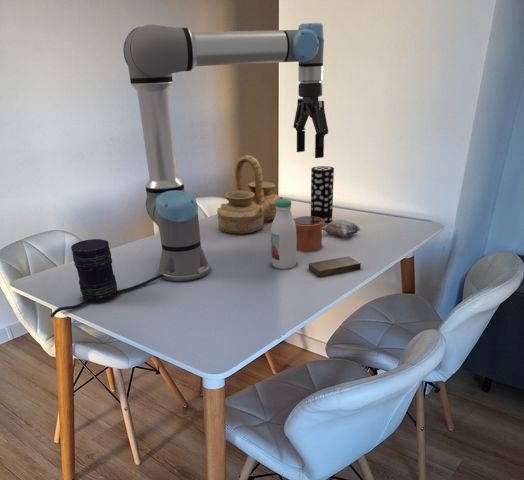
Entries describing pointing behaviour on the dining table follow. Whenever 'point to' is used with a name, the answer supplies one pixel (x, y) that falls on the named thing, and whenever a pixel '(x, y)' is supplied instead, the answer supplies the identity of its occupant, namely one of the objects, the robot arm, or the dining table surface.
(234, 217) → the ceramic vessel
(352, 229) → the packaged food
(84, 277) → the storage jar
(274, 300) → the dining table surface
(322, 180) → the white-spotted black cylinder
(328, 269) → the walnut board
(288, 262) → the milk bottle
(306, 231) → the flower pot
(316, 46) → the robot arm
